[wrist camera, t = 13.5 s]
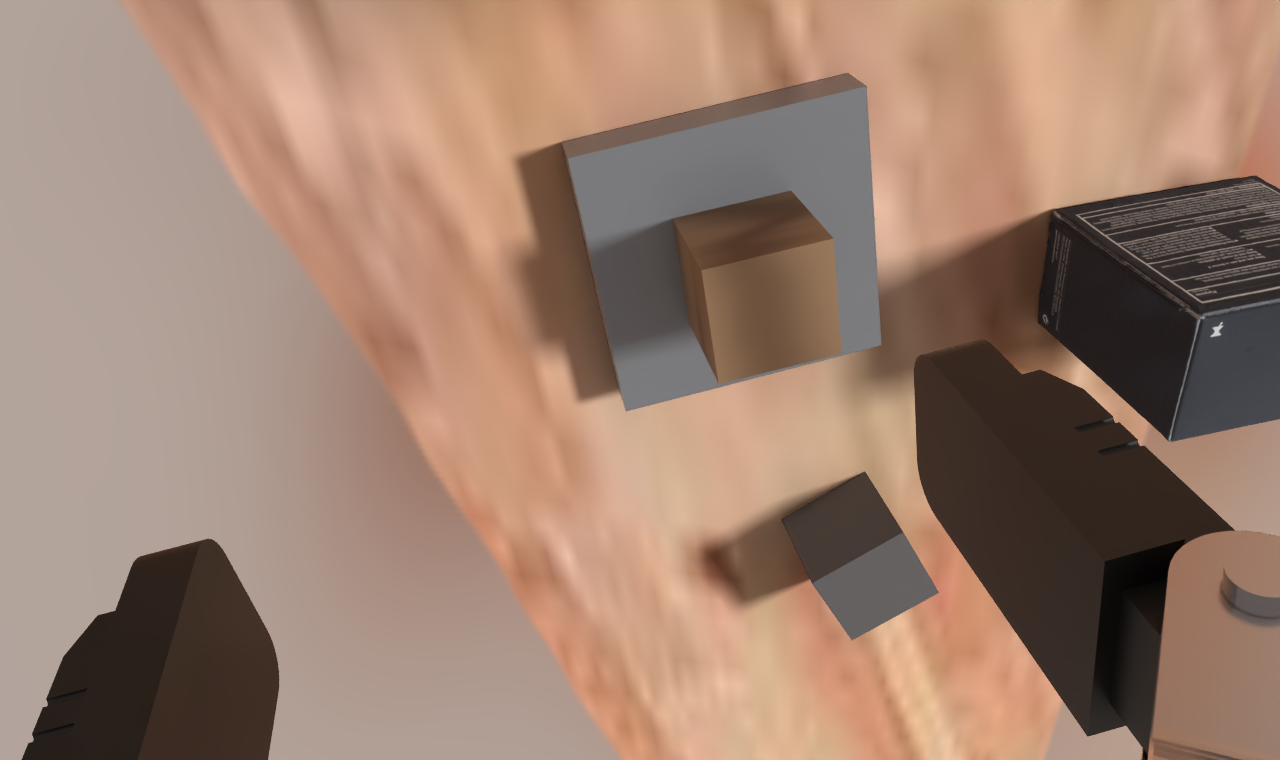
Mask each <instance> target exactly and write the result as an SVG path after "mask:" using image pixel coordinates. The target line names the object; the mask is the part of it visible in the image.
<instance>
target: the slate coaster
mask: <svg viewBox="0 0 1280 760" xmlns="http://www.w3.org/2000/svg"><path fill="white" fill-rule="evenodd" d="M562 146H563V151H564V155H565V159H566V164H567V168H568V172H569V177H570V181H571V185H572V189H573V194H574V198H575V202H576V207H577V211H578V215H579V220H580V224H581V228H582V233H583V237H584V241H585V246H586V250H587V254H588V259H589V263H590V267H591V272H592V276H593V280H594V285H595V289H596V293H597V297H598V302H599V306H600V310H601V315H602V319H603V323H604V328H605V332H606V336H607V341H608V345H609V349H610V354H611V358H612V362H613V367H614V371H615V375H616V380H617V384H618V388H619V391H620V394H621V398H622V401H623V404H624V407H625V410H626V411H629V410H633V409H637V408H641V407H645V406H649V405H652V404H656V403H660V402H664V401H668V400H672V399H676V398H680V397H683V396H687V395H691V394H695V393H699V392H703V391H707V390H711V389H714V388H718V387H722V386H726V385H730V384H734V383H738V382H741V381H745V380H749V379H753V378H757V377H761V376H765V375H769V374H772V373H776V372H780V371H784V370H788V369H792V368H796V367H800V366H803V365H807V364H811V363H815V362H819V361H823V360H827V359H830V358H834V357H838V356H842V355H846V354H850V353H854V352H858V351H861V350H865V349H869V348H873V347H877V346H881V329H880V312H879V294H878V277H877V259H876V242H875V224H874V207H873V190H872V172H871V155H870V137H869V120H868V102H867V86H866V85H864V84H863V83H861V82H860V81H859V80H857V79H856V78H854V77H853V76H851V75H850V74H849V73H847V74H843V75H839V76H835V77H830V78H826V79H822V80H818V81H814V82H810V83H805V84H801V85H797V86H793V87H789V88H785V89H781V90H776V91H772V92H768V93H764V94H760V95H756V96H752V97H747V98H743V99H739V100H735V101H731V102H727V103H722V104H718V105H714V106H710V107H706V108H702V109H698V110H693V111H689V112H685V113H681V114H677V115H673V116H668V117H664V118H660V119H656V120H652V121H648V122H644V123H639V124H635V125H631V126H627V127H623V128H619V129H615V130H610V131H606V132H602V133H598V134H594V135H590V136H585V137H581V138H577V139H573V140H569V141H565V142H562ZM787 191H792V192H793V193H794V194H795V195H796V196H797V198H798V199H799V200H800V201H801V202H802V203H803V204H804V206H805V207H806V208H807V209H808V210H809V211H810V212H811V213H812V215H813V216H814V217H815V218H816V219H817V220H818V221H819V223H820V224H821V225H822V226H823V227H824V228H825V229H826V230H827V232H828V233H829V234H830V235H831V236H832V237H833V238H834V251H835V265H836V279H837V294H838V308H839V322H840V336H841V351H842V354H839V355H834V356H830V357H826V358H822V359H818V360H814V361H810V362H806V363H802V364H798V365H794V366H790V367H786V368H782V369H778V370H774V371H770V372H766V373H762V374H758V375H754V376H750V377H746V378H742V379H738V380H734V381H730V382H726V383H722V384H718V382H717V380H716V378H715V376H714V373H713V371H712V369H711V367H710V365H709V363H708V361H707V359H706V357H705V355H704V353H703V351H702V349H701V347H700V345H699V343H698V340H697V338H696V336H695V334H694V332H693V330H692V328H691V326H690V323H689V317H688V311H687V305H686V298H685V292H684V286H683V280H682V274H681V268H680V262H679V256H678V250H677V244H676V238H675V231H674V225H673V219H672V218H677V217H681V216H685V215H689V214H693V213H698V212H702V211H706V210H710V209H715V208H719V207H723V206H727V205H732V204H736V203H740V202H744V201H749V200H753V199H757V198H761V197H765V196H770V195H774V194H778V193H782V192H787Z"/></svg>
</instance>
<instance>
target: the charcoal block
mask: <svg viewBox="0 0 1280 760" xmlns="http://www.w3.org/2000/svg"><path fill="white" fill-rule="evenodd" d="M782 521H783V523H784V526H785V528H786V530H787V532H788V534H789V536H790V538H791V540H792V542H793V544H794V547H795V549H796V551H797V553H798V555H799V557H800V559H801V561H802V563H803V565H804V568H805V570H806V572H807V574H808V576H809V578H810V580H811V582H812V584H813V585H814V587H815V588H816V590H817V591H818V593H819V594H820V595H821V597H822V598H823V600H824V601H825V603H826V604H827V605H828V607H829V608H830V610H831V611H832V613H833V614H834V615H835V617H836V618H837V620H838V621H839V622H840V624H841V625H842V627H843V628H844V630H845V631H846V632H847V634H848V635H849V637H850V638H851V640H854V639H855V638H857V637H859V636H861V635H863V634H864V633H866V632H868V631H870V630H872V629H874V628H875V627H877V626H879V625H881V624H883V623H885V622H886V621H888V620H890V619H892V618H894V617H895V616H897V615H899V614H901V613H903V612H905V611H906V610H908V609H910V608H912V607H914V606H915V605H917V604H919V603H921V602H923V601H925V600H926V599H928V598H930V597H932V596H934V595H936V594H937V593H939V592H938V590H937V589H936V587H935V585H934V583H933V582H932V580H931V578H930V577H929V575H928V573H927V572H926V570H925V568H924V567H923V565H922V563H921V562H920V560H919V558H918V556H917V555H916V553H915V551H914V550H913V548H912V546H911V545H910V543H909V541H908V540H907V538H906V536H905V535H904V533H903V531H902V530H901V528H900V526H899V525H898V523H897V522H896V520H895V518H894V517H893V515H892V514H891V512H890V511H889V509H888V507H887V506H886V504H885V503H884V501H883V499H882V498H881V496H880V495H879V493H878V491H877V490H876V488H875V487H874V485H873V483H872V482H871V480H870V479H869V477H868V475H867V474H866V472H863V473H862V474H860V475H858V476H856V477H855V478H853V479H851V480H849V481H848V482H846V483H844V484H842V485H841V486H839V487H837V488H836V489H834V490H832V491H830V492H829V493H827V494H825V495H823V496H822V497H820V498H818V499H816V500H815V501H813V502H811V503H809V504H808V505H806V506H804V507H803V508H801V509H799V510H797V511H796V512H794V513H792V514H790V515H789V516H787V517H785V518H783V519H782Z"/></svg>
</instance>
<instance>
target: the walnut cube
mask: <svg viewBox="0 0 1280 760" xmlns="http://www.w3.org/2000/svg"><path fill="white" fill-rule="evenodd" d="M672 219H673V225H674V231H675V238H676V244H677V250H678V256H679V262H680V268H681V274H682V280H683V286H684V292H685V298H686V305H687V311H688V317H689V323H690V326H691V328H692V330H693V332H694V334H695V336H696V338H697V340H698V343H699V345H700V347H701V349H702V351H703V353H704V355H705V357H706V359H707V361H708V363H709V365H710V367H711V369H712V371H713V373H714V376H715V378H716V380H717V382H718V384H722V383H726V382H730V381H734V380H738V379H742V378H746V377H750V376H754V375H758V374H762V373H766V372H770V371H774V370H778V369H782V368H786V367H790V366H794V365H798V364H802V363H806V362H810V361H814V360H818V359H822V358H826V357H830V356H834V355H839V354H842V351H841V336H840V322H839V308H838V294H837V279H836V265H835V251H834V238H833V237H832V236H831V235H830V234H829V233H828V232H827V230H826V229H825V228H824V227H823V226H822V225H821V224H820V223H819V221H818V220H817V219H816V218H815V217H814V216H813V215H812V213H811V212H810V211H809V210H808V209H807V208H806V207H805V206H804V204H803V203H802V202H801V201H800V200H799V199H798V198H797V196H796V195H795V194H794V193H793V192H792V191H787V192H782V193H778V194H774V195H770V196H765V197H761V198H757V199H753V200H749V201H744V202H740V203H736V204H732V205H727V206H723V207H719V208H715V209H710V210H706V211H702V212H698V213H693V214H689V215H685V216H681V217H677V218H672Z"/></svg>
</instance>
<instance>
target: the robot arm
mask: <svg viewBox="0 0 1280 760" xmlns="http://www.w3.org/2000/svg"><path fill="white" fill-rule="evenodd" d="M914 388H915V414H916V441H917V463H918V471H919V476H920V480H921V484H922V487H923V490H924V493H925V496H926V498H927V501H928V503H929V505H930V507H931V509H932V511H933V513H934V514H935V516H936V517H937V519H938V520H939V522H940V523H941V525H942V526H943V528H944V529H945V531H946V532H947V533H948V535H949V536H950V538H951V539H952V541H953V542H954V544H955V545H956V546H957V548H958V549H959V551H960V552H961V554H962V555H963V557H964V558H965V560H966V561H967V562H968V564H969V565H970V567H971V568H972V570H973V571H974V573H975V574H976V575H977V577H978V578H979V580H980V581H981V583H982V584H983V586H984V587H985V588H986V590H987V591H988V593H989V594H990V596H991V597H992V599H993V600H994V602H995V603H996V604H997V606H998V607H999V609H1000V610H1001V612H1002V613H1003V615H1004V616H1005V617H1006V619H1007V620H1008V622H1009V623H1010V625H1011V626H1012V628H1013V629H1014V631H1015V632H1016V633H1017V635H1018V636H1019V638H1020V639H1021V641H1022V642H1023V644H1024V645H1025V646H1026V648H1027V649H1028V651H1029V652H1030V654H1031V655H1032V657H1033V658H1034V660H1035V661H1036V662H1037V664H1038V665H1039V667H1040V668H1041V670H1042V671H1043V673H1044V674H1045V675H1046V677H1047V678H1048V680H1049V681H1050V683H1051V684H1052V686H1053V687H1054V688H1055V690H1056V691H1057V693H1058V694H1059V696H1060V697H1061V699H1062V700H1063V702H1064V703H1065V704H1066V706H1067V707H1068V709H1069V710H1070V712H1071V713H1072V715H1073V716H1074V717H1075V719H1076V720H1077V722H1078V723H1079V725H1080V726H1081V728H1082V729H1083V731H1084V732H1085V733H1086V735H1087V736H1091V735H1095V734H1098V733H1101V732H1105V731H1109V730H1112V729H1116V728H1119V727H1123V726H1127V727H1128V728H1129V730H1130V731H1131V733H1132V734H1133V735H1134V737H1135V738H1136V739H1137V741H1138V742H1139V743H1140V745H1141V746H1142V747H1143V748H1142V756H1141V760H1280V537H1279V536H1276V535H1271V534H1266V533H1261V532H1252V531H1235V530H1234V529H1233V528H1232V527H1231V526H1230V525H1228V523H1227V522H1225V521H1224V520H1223V519H1222V518H1221V517H1220V516H1219V515H1218V514H1217V513H1216V512H1215V511H1214V510H1212V508H1210V507H1209V506H1208V505H1207V504H1206V503H1205V502H1204V501H1203V500H1202V499H1201V498H1200V497H1199V496H1198V495H1196V494H1195V493H1194V492H1193V491H1192V490H1191V489H1190V488H1189V487H1188V486H1187V485H1186V484H1185V483H1184V482H1182V480H1180V479H1179V478H1178V477H1177V476H1176V475H1175V474H1174V473H1173V472H1172V471H1171V470H1170V469H1169V468H1168V467H1167V466H1165V465H1164V464H1163V463H1162V462H1161V461H1160V460H1159V459H1158V458H1157V457H1156V456H1155V455H1154V454H1153V453H1151V452H1150V451H1149V450H1148V449H1147V448H1146V447H1145V446H1139V444H1138V439H1137V438H1135V437H1134V436H1133V435H1132V434H1131V433H1130V432H1129V431H1128V430H1127V429H1126V428H1125V427H1124V426H1123V425H1122V424H1120V423H1119V422H1118V423H1115V422H1114V419H1113V416H1112V415H1111V414H1110V413H1109V412H1108V411H1107V410H1105V409H1104V408H1103V407H1102V406H1101V405H1100V404H1099V403H1098V402H1097V401H1096V400H1095V399H1094V398H1093V397H1092V396H1090V395H1089V394H1088V393H1087V392H1086V391H1085V390H1084V389H1082V388H1080V387H1078V386H1076V385H1073V384H1071V383H1069V382H1067V381H1064V380H1062V379H1060V378H1058V377H1056V376H1053V375H1051V374H1049V373H1047V372H1044V371H1042V370H1038V371H1034V372H1030V373H1026V374H1021V373H1020V372H1019V371H1018V370H1017V369H1016V368H1015V367H1014V366H1013V365H1012V364H1011V363H1010V362H1009V361H1008V360H1007V359H1006V358H1005V357H1004V356H1003V355H1002V354H1001V353H1000V352H999V351H998V350H997V349H996V348H995V347H994V346H993V345H991V344H990V343H989V342H987V341H986V340H978V341H974V342H971V343H967V344H963V345H959V346H955V347H951V348H947V349H944V350H940V351H936V352H932V353H928V354H924V355H921V356H919V357H918V358H917V360H916V362H915V367H914ZM278 691H279V670H278V662H277V657H276V653H275V649H274V645H273V642H272V640H271V637H270V635H269V633H268V631H267V629H266V627H265V625H264V623H263V622H262V620H261V618H260V616H259V614H258V612H257V611H256V609H255V607H254V605H253V604H252V602H251V600H250V598H249V596H248V594H247V592H246V591H245V589H244V587H243V585H242V583H241V582H240V580H239V578H238V576H237V574H236V572H235V571H234V569H233V567H232V565H231V563H230V562H229V560H228V558H227V556H226V554H225V553H224V551H223V549H222V548H221V547H220V546H219V545H218V544H217V543H216V542H215V541H214V540H212V539H205V540H202V541H198V542H194V543H190V544H186V545H182V546H179V547H175V548H171V549H167V550H163V551H159V552H156V553H152V554H148V555H144V556H140V557H139V558H137V559H136V560H135V562H134V563H133V565H132V567H131V570H130V572H129V575H128V578H127V581H126V583H125V586H124V589H123V591H122V594H121V598H120V600H119V602H118V605H117V608H116V611H113V612H109V613H105V614H101V615H98V616H97V617H96V618H95V619H94V621H93V622H92V623H91V624H90V625H89V626H88V628H87V629H86V630H85V631H84V633H83V634H82V635H81V636H80V637H79V639H78V640H77V641H76V642H75V643H74V645H73V646H72V647H71V648H70V649H69V651H68V652H67V653H66V654H65V656H64V657H63V659H62V662H61V664H60V666H59V669H58V671H57V674H56V676H55V679H54V681H53V684H52V687H51V689H50V691H49V694H48V696H47V702H48V706H47V707H43V709H42V711H41V713H40V716H39V718H38V721H37V723H36V726H35V728H34V731H33V733H32V735H33V738H34V740H33V742H31V743H28V746H27V748H26V750H25V753H24V755H23V758H22V760H268V755H269V749H270V743H271V736H272V730H273V724H274V716H275V710H276V704H277V698H278Z"/></svg>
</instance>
